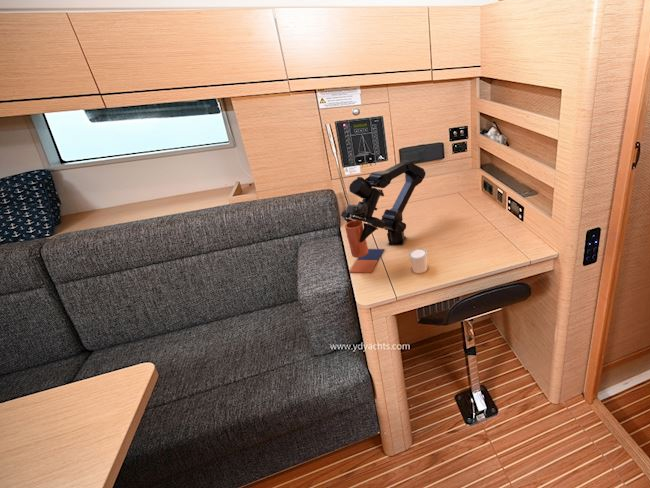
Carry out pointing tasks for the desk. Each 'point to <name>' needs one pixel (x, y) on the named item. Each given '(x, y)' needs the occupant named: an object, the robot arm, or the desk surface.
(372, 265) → the sorting mat
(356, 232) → the terracotta cup
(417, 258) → the shot glass
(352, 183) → the robot arm
